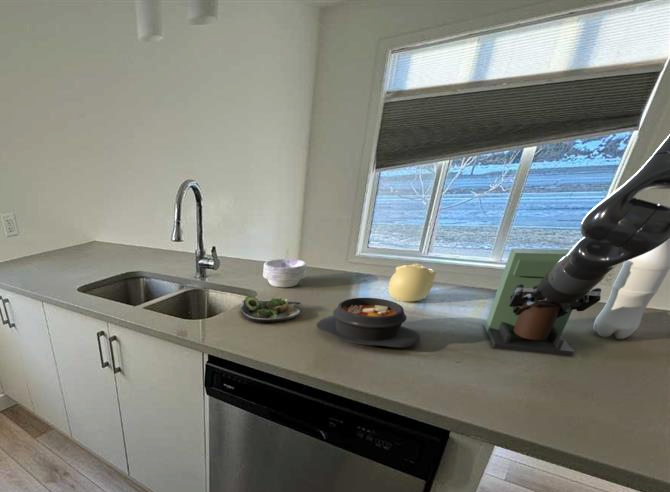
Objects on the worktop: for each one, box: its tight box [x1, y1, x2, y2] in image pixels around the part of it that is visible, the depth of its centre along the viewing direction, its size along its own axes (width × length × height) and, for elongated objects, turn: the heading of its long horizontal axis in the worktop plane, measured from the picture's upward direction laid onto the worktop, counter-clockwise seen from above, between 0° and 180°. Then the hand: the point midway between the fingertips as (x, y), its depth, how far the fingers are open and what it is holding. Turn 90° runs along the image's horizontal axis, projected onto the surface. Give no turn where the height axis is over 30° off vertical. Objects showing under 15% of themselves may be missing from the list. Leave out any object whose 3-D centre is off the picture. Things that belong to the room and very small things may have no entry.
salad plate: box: [239, 295, 302, 324], centre depth 126 cm, size 19×18×5 cm
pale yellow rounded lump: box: [388, 263, 437, 302], centre depth 125 cm, size 12×12×11 cm
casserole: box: [316, 297, 421, 349], centre depth 104 cm, size 25×19×8 cm
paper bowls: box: [262, 258, 308, 288], centre depth 149 cm, size 15×15×8 cm
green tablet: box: [484, 248, 574, 357], centre depth 93 cm, size 14×14×20 cm
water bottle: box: [593, 238, 670, 340], centre depth 90 cm, size 7×7×25 cm
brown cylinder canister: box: [513, 300, 561, 340], centre depth 93 cm, size 6×6×8 cm
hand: (536, 312), depth 94 cm, fingers closed on brown cylinder canister, 6 cm apart
